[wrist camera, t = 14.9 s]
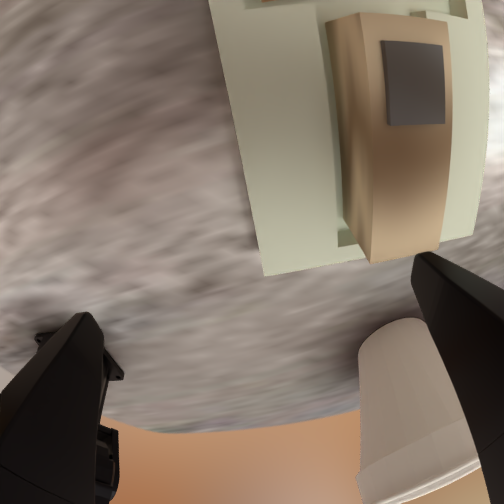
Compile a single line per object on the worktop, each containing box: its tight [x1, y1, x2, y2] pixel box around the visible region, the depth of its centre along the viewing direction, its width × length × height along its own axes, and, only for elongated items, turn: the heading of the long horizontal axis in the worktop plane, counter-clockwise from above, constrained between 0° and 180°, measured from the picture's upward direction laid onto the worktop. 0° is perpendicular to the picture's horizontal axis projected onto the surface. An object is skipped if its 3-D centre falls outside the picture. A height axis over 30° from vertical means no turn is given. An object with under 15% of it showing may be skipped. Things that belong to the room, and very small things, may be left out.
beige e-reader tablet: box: [325, 12, 453, 264], centre depth 11 cm, size 10×4×4 cm, turn 10°
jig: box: [208, 0, 489, 277], centre depth 12 cm, size 19×13×2 cm
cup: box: [356, 318, 481, 504], centre depth 19 cm, size 12×12×14 cm
